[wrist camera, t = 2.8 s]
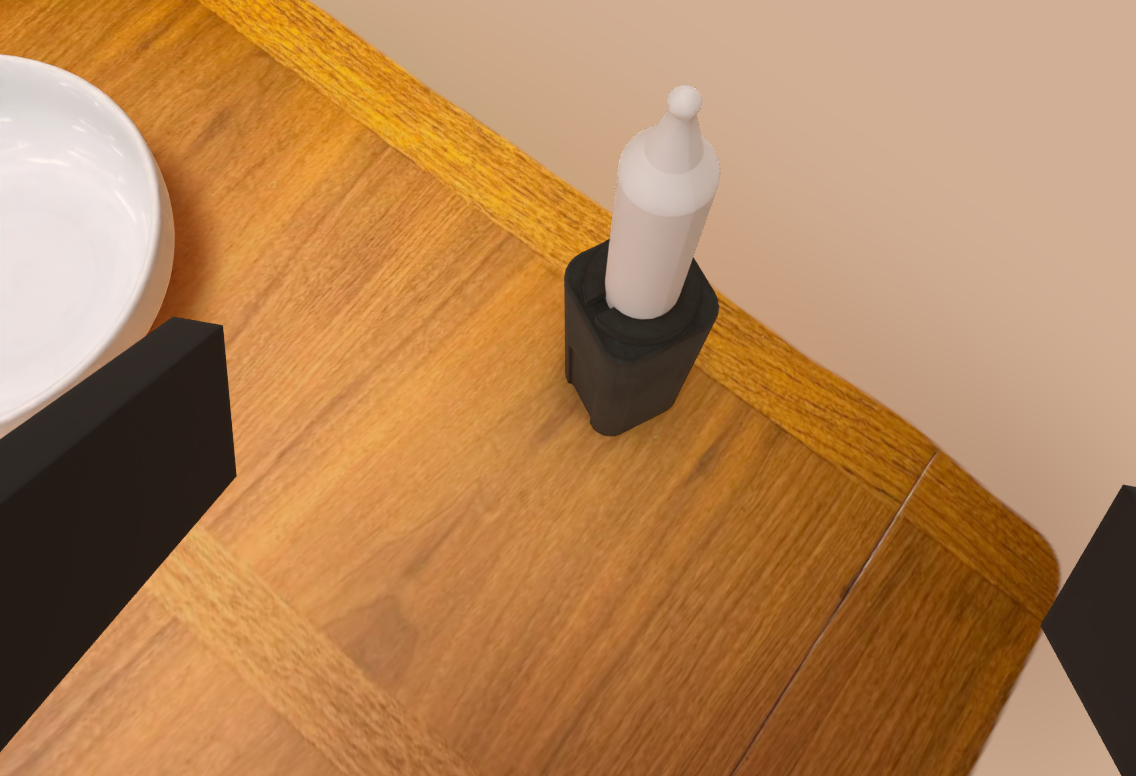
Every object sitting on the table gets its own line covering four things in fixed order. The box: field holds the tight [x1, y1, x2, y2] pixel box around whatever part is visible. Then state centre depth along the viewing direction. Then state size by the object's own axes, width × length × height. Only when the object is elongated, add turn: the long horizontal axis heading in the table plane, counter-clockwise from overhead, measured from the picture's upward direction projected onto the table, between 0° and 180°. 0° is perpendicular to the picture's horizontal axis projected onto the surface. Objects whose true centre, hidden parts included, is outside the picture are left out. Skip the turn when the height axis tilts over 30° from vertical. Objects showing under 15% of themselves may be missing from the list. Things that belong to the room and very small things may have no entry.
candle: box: [564, 85, 720, 436], centre depth 31 cm, size 5×5×25 cm
